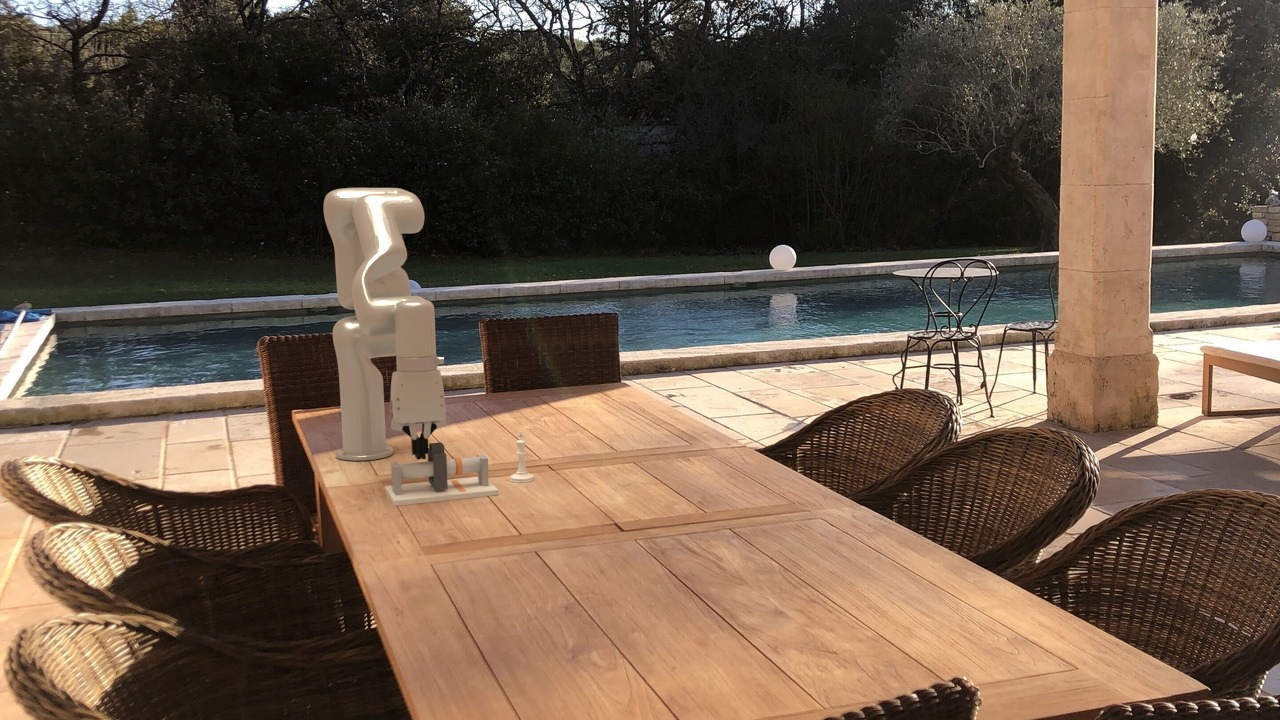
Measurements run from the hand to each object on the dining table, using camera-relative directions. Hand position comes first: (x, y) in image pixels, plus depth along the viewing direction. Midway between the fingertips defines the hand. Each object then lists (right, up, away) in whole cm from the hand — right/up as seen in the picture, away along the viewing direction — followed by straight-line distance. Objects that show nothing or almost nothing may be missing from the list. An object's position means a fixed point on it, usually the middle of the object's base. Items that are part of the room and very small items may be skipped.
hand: (420, 457), depth 218 cm
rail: (+4, -7, +2) cm, 8 cm away
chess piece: (+18, -6, +12) cm, 23 cm away
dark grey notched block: (+3, -6, +2) cm, 7 cm away
